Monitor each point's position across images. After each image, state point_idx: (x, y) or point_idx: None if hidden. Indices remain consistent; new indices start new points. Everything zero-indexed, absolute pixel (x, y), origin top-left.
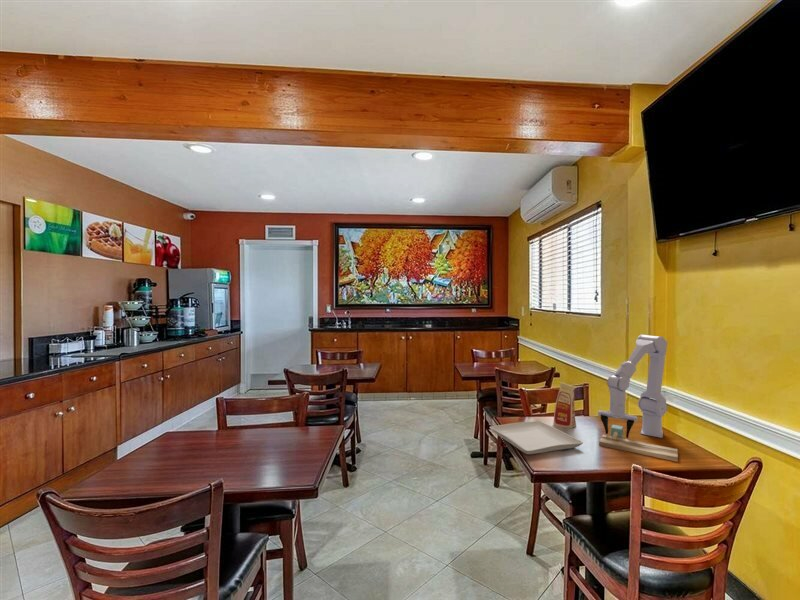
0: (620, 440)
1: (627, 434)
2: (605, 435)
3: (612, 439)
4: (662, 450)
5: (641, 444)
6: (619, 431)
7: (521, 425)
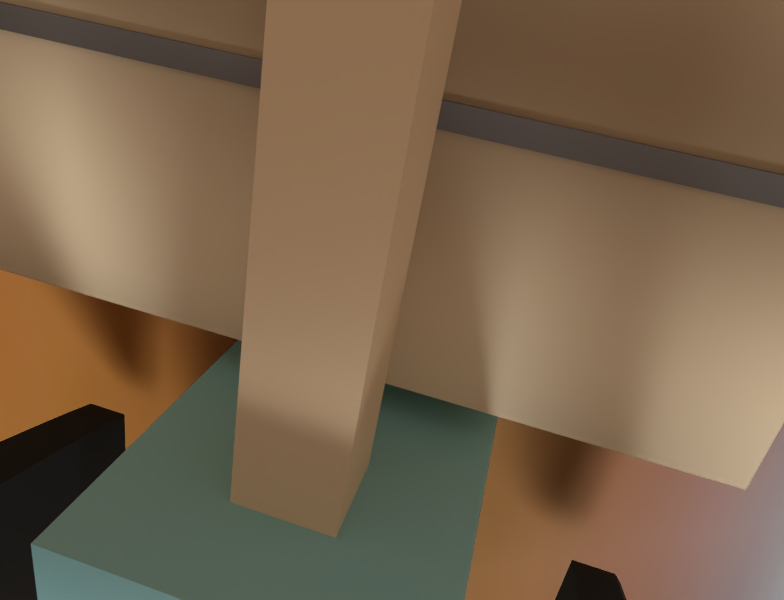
0: (232, 63)
1: (17, 448)
2: (677, 415)
3: (496, 62)
4: None
5: None
6: (168, 501)
7: None
